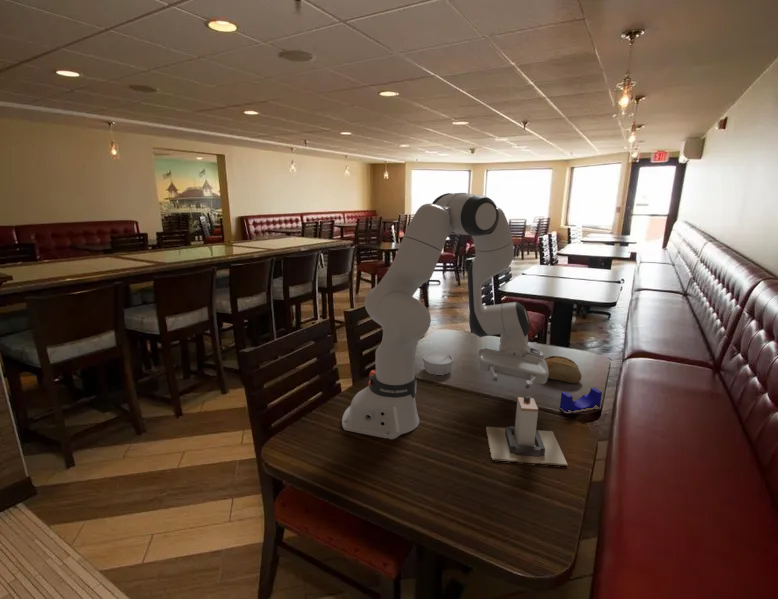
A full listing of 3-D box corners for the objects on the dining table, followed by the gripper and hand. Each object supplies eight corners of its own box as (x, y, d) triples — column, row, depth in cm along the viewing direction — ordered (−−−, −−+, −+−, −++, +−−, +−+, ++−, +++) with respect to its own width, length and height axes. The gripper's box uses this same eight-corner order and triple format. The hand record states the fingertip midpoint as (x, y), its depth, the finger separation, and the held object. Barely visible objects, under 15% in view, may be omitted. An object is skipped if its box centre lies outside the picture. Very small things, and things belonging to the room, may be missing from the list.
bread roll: (535, 370, 151) (537, 350, 149) (579, 376, 146) (581, 356, 144) (535, 381, 143) (537, 360, 141) (581, 388, 138) (584, 366, 136)
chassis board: (491, 460, 100) (492, 451, 100) (485, 429, 114) (486, 420, 113) (567, 467, 98) (568, 457, 98) (552, 433, 112) (553, 424, 111)
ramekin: (454, 377, 146) (455, 364, 144) (423, 377, 146) (424, 363, 144) (450, 364, 156) (451, 352, 155) (421, 364, 157) (422, 351, 155)
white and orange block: (517, 449, 103) (521, 404, 100) (514, 437, 109) (518, 393, 105) (533, 451, 103) (538, 405, 100) (529, 438, 108) (533, 394, 105)
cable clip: (588, 402, 129) (591, 385, 127) (599, 409, 124) (602, 392, 123) (556, 407, 126) (558, 390, 124) (566, 415, 121) (568, 397, 120)
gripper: (481, 339, 127) (476, 366, 116) (549, 353, 122) (551, 382, 111) (478, 355, 130) (473, 383, 119) (544, 369, 126) (545, 399, 114)
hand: (511, 383), depth 115 cm, fingers open, 8 cm apart
